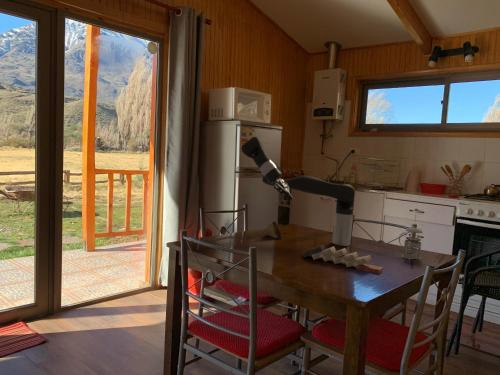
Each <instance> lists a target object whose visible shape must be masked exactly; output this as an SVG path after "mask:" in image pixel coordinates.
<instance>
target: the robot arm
mask: <svg viewBox="0 0 500 375" xmlns="http://www.w3.org/2000/svg"><path fill="white" fill-rule="evenodd" d="M263 146H264V145H263V143H262V141H261V139H260V138H259V137H257V136H253V137H251V138H250V139H248V140H246V142H244V143H243V144H242V145H241V148H240V149H241V152H242V153H243V154H244V155H245V157H248V158H250V159H252V161H253V162H254V163H255V164H256V166H257V167H258V168H259V170H260V172H261V174H262V183H264V184H265V185H268V186H273V188H274V189H275V190H276V191H277V192H278V193H280V194H281V195H283V196H285V198H286V199H287V200H288V201H289V202H290V201H291V202H292V200H294V197H293V195H292V193H290V191H291V190H294V191H295V190H296V191H299V192H301V193H302V192H303V193H308V194H310V195H311V194H313V195H316V196H317V195H318V196H324V197H329V198H333V199H335V200H336V205H335V206H336V208H335V220H334V225H333V227H332V236H331V243H332V244H333V245H337V246H340V247H341V246H342V247H347V246H351V239H352V230H353V229H352V227H353V218H354V216H353V215H354V206H355V205H354V204H355V195H356V191H355V188H354V187H353V186H352V185H351V184H348V183H344V184H338V183H332V182H328V181H326V180H323V179H320V178H319V177H315V176H311V175H305V174H304V175H298V176H296V177H293V178H288V179H282V178H281V177H282V176H283V174H282V170H281V168H280V166H278V164H276V162H274V161H273V160H272V159H271V158H270V157H269V155H268V154H267V153H266V151H265V148H264V147H263Z"/></svg>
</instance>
